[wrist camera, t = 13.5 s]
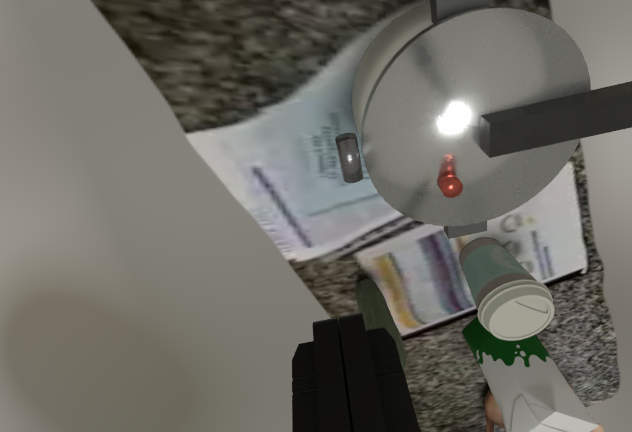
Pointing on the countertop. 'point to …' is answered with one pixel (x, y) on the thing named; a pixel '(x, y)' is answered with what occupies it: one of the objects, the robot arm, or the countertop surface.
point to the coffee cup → (505, 292)
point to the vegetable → (378, 313)
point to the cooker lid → (478, 116)
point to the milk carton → (527, 384)
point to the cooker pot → (387, 45)
